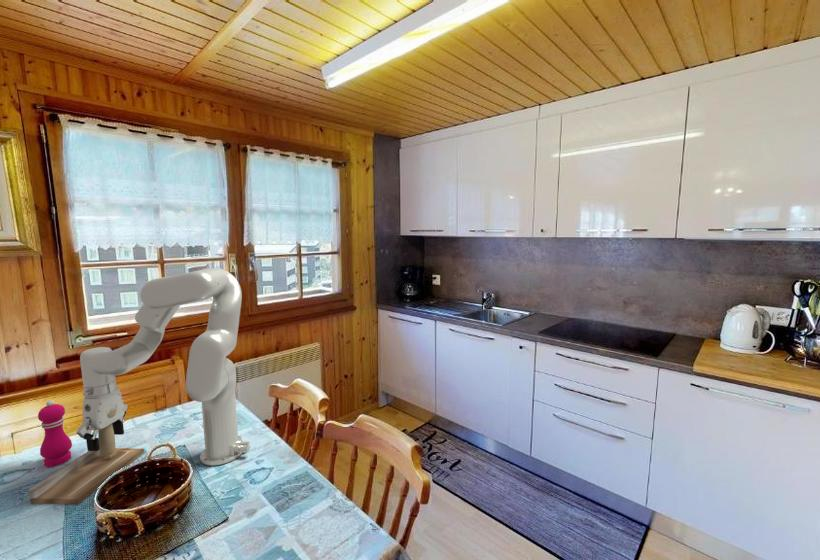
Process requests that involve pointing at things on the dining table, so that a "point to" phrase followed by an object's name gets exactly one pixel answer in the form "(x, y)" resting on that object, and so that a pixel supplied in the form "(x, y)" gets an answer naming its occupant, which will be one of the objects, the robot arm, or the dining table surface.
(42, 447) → the pepper mill
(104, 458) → the handle
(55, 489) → the board
